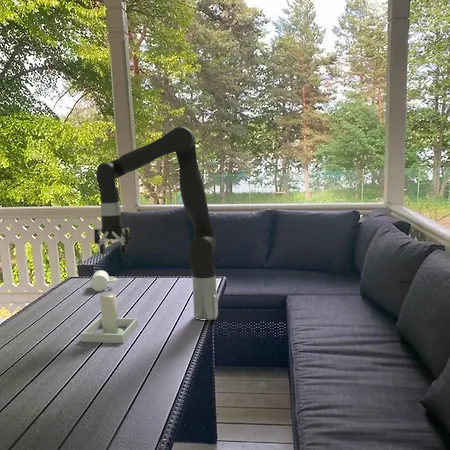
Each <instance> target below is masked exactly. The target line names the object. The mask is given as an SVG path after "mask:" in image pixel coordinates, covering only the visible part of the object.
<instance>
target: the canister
mask: <svg viewBox="0 0 450 450" xmlns="http://www.w3.org/2000/svg"><path fill="white" fill-rule="evenodd" d="M99 298H100V299H99V301H100V311H101V312H100V313H101V315H100V316H101V318H102V330H103V333H105V334H117V333H118V332H119V331H118V328H119V326H118V318H119V317H118V305H117V295H116V294H115V293H104V294H102V295H100V296H99Z"/></svg>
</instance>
